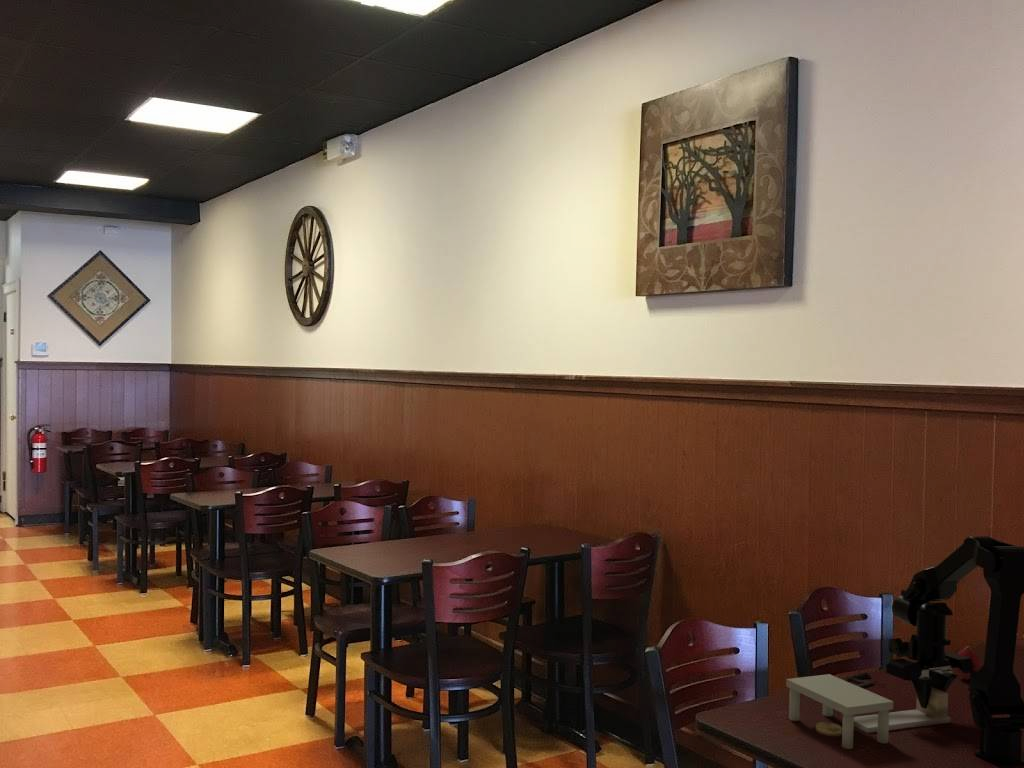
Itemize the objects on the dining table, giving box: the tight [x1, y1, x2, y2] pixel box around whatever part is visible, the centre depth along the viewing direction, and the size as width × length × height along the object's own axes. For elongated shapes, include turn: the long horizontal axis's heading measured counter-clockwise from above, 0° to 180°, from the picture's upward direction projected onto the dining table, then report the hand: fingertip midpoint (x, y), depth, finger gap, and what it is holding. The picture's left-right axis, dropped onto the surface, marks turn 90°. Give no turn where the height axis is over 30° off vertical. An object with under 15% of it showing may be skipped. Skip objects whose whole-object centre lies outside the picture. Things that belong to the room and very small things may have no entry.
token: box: [815, 721, 842, 737], centre depth 193 cm, size 5×5×1 cm
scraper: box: [854, 687, 951, 734], centre depth 199 cm, size 6×21×6 cm, turn 111°
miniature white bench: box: [785, 673, 894, 750], centre depth 193 cm, size 18×11×8 cm, turn 22°
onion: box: [954, 645, 982, 681], centre depth 229 cm, size 6×6×8 cm
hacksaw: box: [842, 671, 883, 688], centre depth 220 cm, size 24×10×2 cm, turn 123°
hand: (928, 707), depth 202 cm, fingers closed on scraper, 3 cm apart
